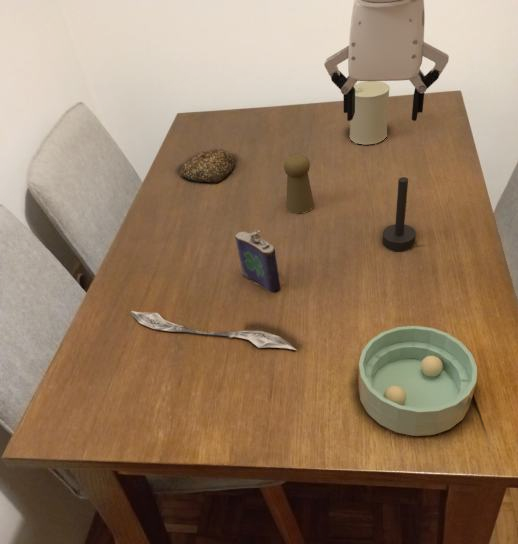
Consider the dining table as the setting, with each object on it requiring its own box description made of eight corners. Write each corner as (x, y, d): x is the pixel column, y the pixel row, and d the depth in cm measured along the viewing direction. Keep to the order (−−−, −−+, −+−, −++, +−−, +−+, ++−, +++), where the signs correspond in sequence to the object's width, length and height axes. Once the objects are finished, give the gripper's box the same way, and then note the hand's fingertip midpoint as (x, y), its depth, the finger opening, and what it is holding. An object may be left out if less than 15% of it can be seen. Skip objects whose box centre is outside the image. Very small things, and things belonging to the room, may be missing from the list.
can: (344, 132, 133) (344, 83, 124) (379, 125, 133) (381, 75, 124) (355, 148, 126) (356, 97, 118) (392, 141, 127) (395, 89, 118)
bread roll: (216, 188, 122) (212, 168, 118) (175, 179, 127) (169, 159, 124) (245, 162, 129) (242, 142, 125) (205, 154, 134) (201, 135, 131)
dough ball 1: (403, 394, 74) (404, 380, 72) (407, 411, 72) (408, 397, 70) (381, 395, 75) (382, 382, 72) (384, 412, 73) (385, 399, 70)
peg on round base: (411, 231, 101) (417, 168, 92) (417, 249, 97) (424, 186, 88) (380, 234, 102) (383, 172, 92) (384, 253, 98) (388, 190, 88)
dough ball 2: (438, 364, 77) (441, 350, 75) (443, 380, 75) (446, 366, 73) (417, 365, 78) (419, 352, 75) (422, 381, 75) (424, 368, 73)
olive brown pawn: (282, 213, 111) (277, 164, 103) (290, 197, 115) (285, 149, 107) (310, 214, 109) (307, 165, 101) (317, 199, 113) (314, 150, 105)
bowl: (454, 350, 79) (460, 321, 75) (483, 434, 69) (491, 407, 65) (353, 357, 81) (353, 330, 77) (365, 441, 70) (366, 415, 66)
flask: (239, 275, 98) (230, 226, 91) (251, 267, 100) (243, 219, 92) (273, 295, 93) (267, 246, 86) (285, 287, 94) (279, 237, 87)
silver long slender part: (132, 310, 95) (119, 329, 92) (131, 307, 95) (118, 326, 92) (303, 332, 86) (296, 354, 83) (303, 329, 85) (295, 351, 82)
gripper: (459, -27, 69) (442, 106, 81) (328, -17, 73) (331, 107, 86) (457, -10, 64) (439, 128, 76) (317, -1, 69) (322, 127, 81)
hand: (382, 116), depth 81 cm, fingers open, 9 cm apart
